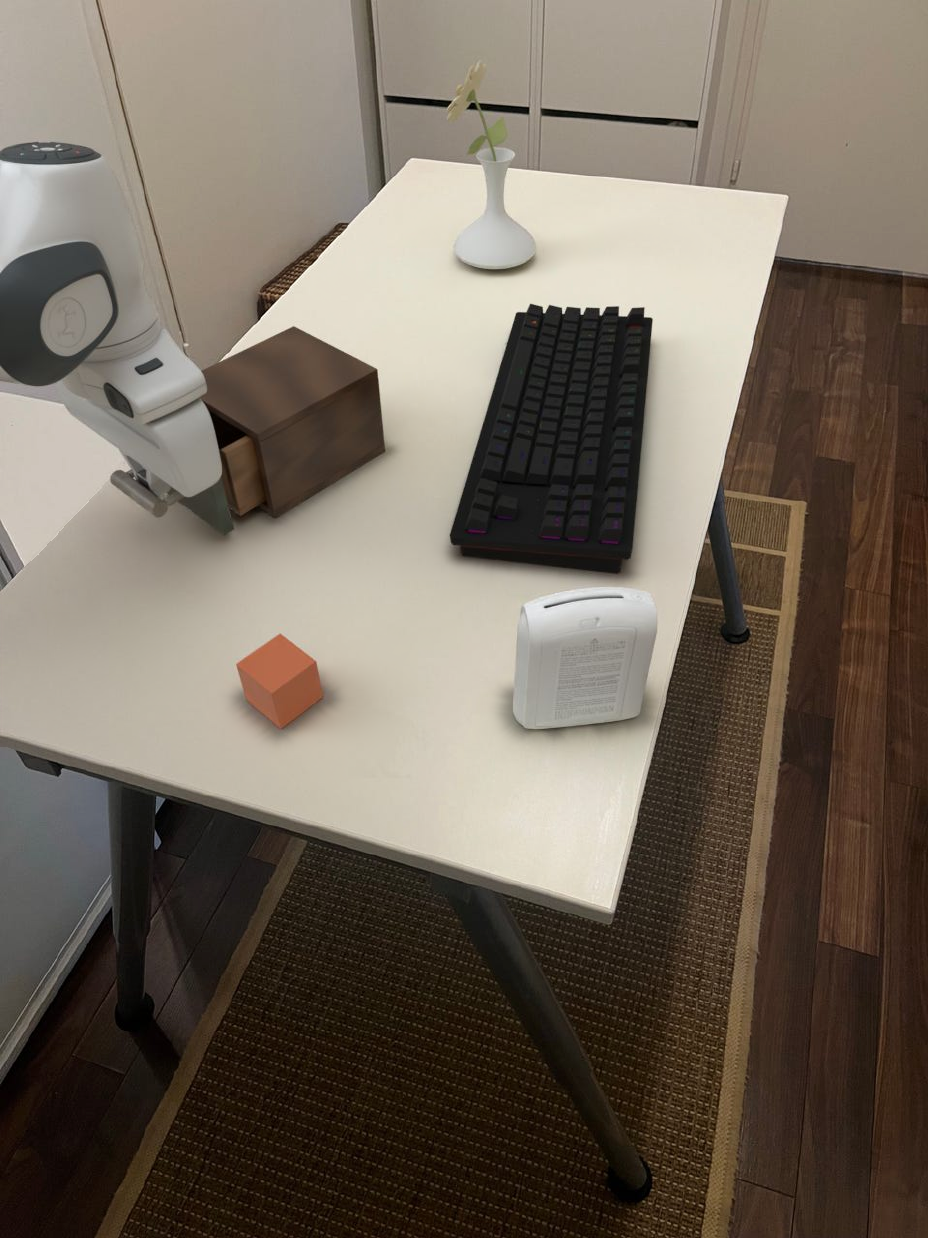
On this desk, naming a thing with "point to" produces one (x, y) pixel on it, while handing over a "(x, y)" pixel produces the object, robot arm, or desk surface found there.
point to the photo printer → (583, 657)
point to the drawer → (212, 505)
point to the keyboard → (560, 443)
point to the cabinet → (299, 412)
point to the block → (280, 680)
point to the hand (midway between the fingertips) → (154, 488)
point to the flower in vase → (490, 193)
